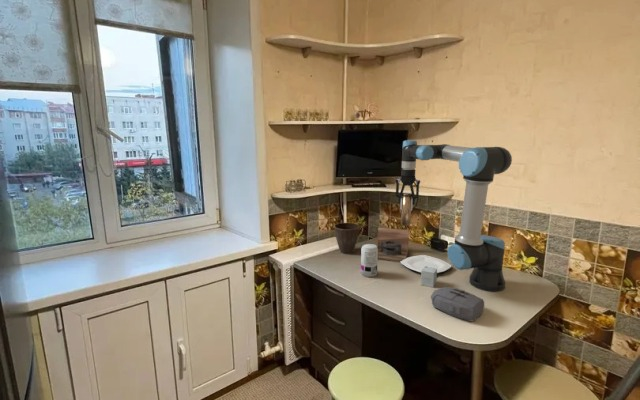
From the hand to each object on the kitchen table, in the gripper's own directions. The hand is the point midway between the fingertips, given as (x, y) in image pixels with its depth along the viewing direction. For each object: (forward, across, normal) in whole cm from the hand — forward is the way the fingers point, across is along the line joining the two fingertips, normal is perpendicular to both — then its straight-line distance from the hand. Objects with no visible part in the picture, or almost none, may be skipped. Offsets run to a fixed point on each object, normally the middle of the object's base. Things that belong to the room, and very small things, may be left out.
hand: (406, 209), depth 194 cm
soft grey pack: (+27, -27, +55) cm, 67 cm away
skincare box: (+27, -16, +34) cm, 47 cm away
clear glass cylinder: (+9, 0, 0) cm, 9 cm away
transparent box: (+27, +7, +3) cm, 28 cm away
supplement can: (+27, +13, +33) cm, 45 cm away
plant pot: (+28, +33, +6) cm, 43 cm away
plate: (+27, -13, +14) cm, 33 cm away
